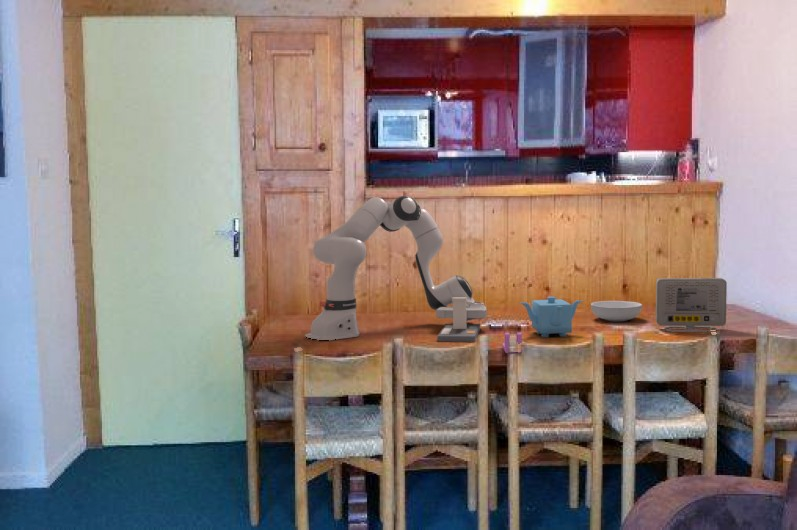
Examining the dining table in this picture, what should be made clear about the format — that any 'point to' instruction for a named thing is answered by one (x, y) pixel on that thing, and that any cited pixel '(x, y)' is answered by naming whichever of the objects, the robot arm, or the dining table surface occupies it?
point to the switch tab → (459, 312)
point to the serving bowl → (616, 310)
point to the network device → (691, 303)
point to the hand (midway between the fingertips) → (459, 316)
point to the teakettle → (551, 316)
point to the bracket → (506, 344)
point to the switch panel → (459, 333)
